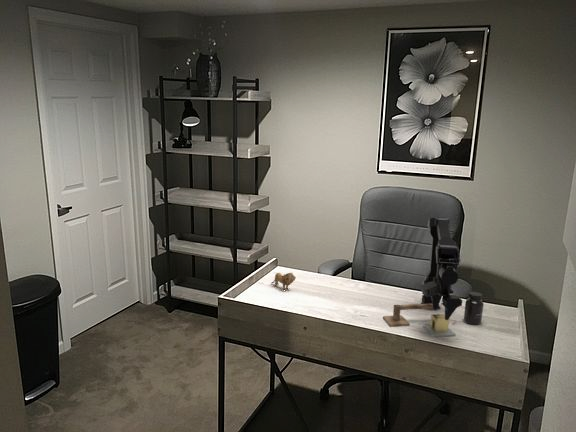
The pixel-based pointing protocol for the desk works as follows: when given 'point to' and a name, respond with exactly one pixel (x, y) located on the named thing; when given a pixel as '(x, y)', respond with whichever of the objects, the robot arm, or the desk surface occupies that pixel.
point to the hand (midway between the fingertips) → (440, 314)
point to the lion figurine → (284, 279)
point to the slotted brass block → (439, 323)
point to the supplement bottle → (473, 309)
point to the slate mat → (445, 334)
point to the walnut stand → (399, 319)
